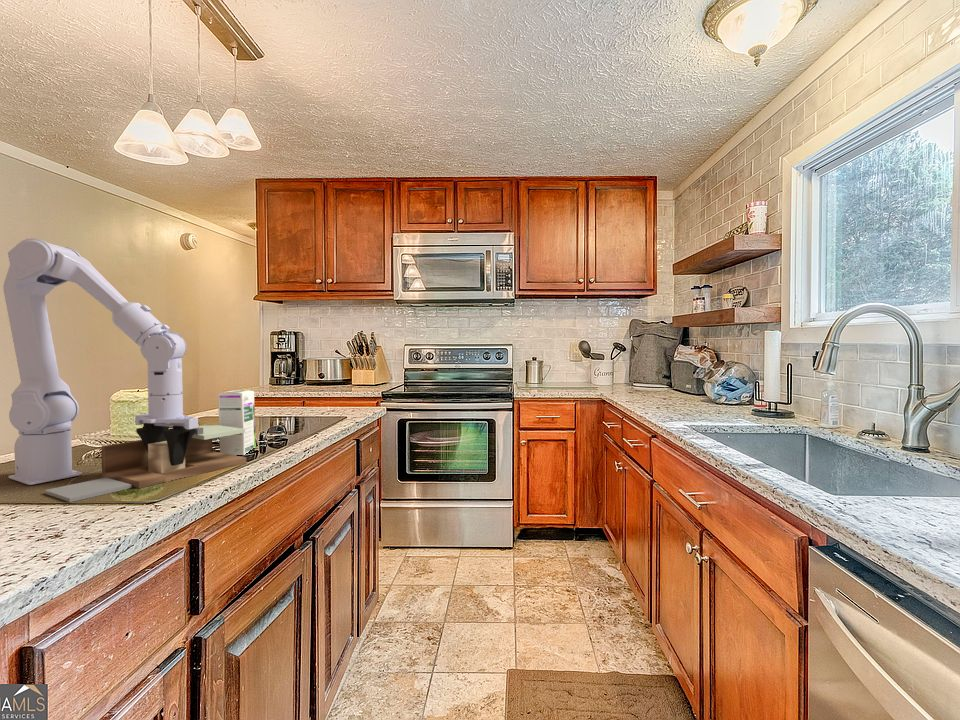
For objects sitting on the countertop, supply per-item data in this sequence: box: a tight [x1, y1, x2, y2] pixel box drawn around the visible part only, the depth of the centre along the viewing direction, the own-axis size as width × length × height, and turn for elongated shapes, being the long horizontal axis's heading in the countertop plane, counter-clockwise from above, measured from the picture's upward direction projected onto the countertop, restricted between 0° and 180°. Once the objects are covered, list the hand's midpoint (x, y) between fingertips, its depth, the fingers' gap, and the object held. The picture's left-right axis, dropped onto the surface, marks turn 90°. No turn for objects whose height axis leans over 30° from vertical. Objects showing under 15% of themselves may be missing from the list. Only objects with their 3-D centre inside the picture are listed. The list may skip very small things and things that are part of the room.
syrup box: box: [217, 389, 257, 456], centre depth 114 cm, size 6×6×14 cm
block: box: [148, 441, 185, 474], centre depth 97 cm, size 4×4×6 cm
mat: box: [44, 477, 132, 503], centre depth 85 cm, size 9×9×1 cm
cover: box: [192, 423, 245, 440], centre depth 105 cm, size 12×9×2 cm
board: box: [100, 438, 247, 489], centre depth 99 cm, size 13×21×6 cm, turn 151°
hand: (166, 463), depth 97 cm, fingers closed on block, 5 cm apart
